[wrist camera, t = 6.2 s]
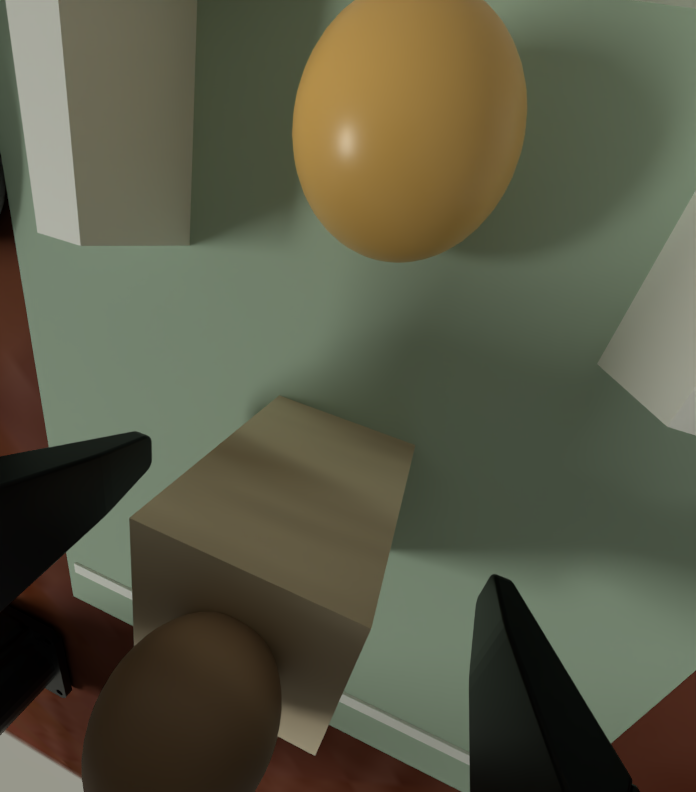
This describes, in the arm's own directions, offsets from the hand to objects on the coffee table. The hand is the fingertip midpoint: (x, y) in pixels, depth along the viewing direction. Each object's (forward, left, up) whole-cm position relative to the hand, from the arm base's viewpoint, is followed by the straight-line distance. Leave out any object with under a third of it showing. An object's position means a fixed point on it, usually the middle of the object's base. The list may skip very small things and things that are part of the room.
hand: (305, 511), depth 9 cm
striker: (0, 0, -2) cm, 2 cm away
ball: (+8, 0, 0) cm, 8 cm away
